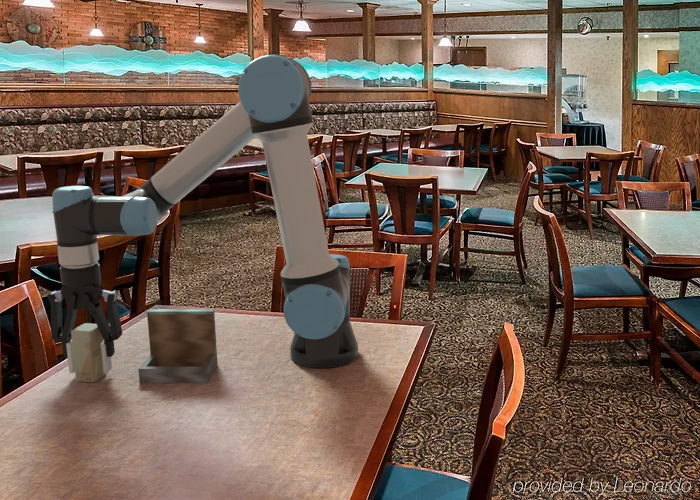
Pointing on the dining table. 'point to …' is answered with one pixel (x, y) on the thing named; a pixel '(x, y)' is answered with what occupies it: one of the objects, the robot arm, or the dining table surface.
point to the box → (87, 352)
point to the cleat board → (180, 346)
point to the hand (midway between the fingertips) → (90, 370)
